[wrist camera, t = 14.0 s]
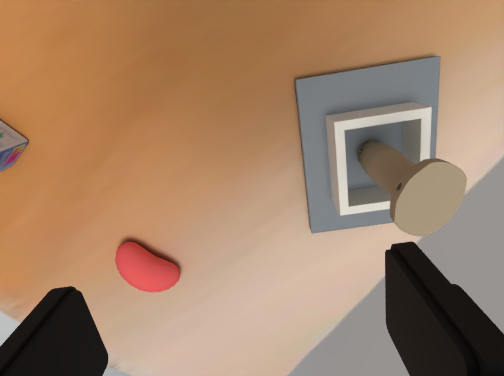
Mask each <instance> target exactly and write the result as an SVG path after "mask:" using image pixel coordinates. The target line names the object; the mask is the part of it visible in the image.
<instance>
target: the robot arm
mask: <svg viewBox="0 0 504 376" xmlns="http://www.w3.org/2000/svg"><path fill="white" fill-rule="evenodd" d="M385 286H386V325H387V329H388V332H389V334H390V336H391V338H392V341H393V343H394V345H395V347H396V349H397V350H398V353H399V355H400V357H401V358H402V361H403V363H404V365H405V367H406V369H407V371H408V373H409V375H410V376H504V334H503V333H502V332H501V331H500V330H499V328H498V327H497V326H496V325H495V324H494V323H493V322H492V321H491V320H490V319H489V318H488V316H487V315H486V314H485V313H484V312H483V311H482V310H481V309H480V308H479V307H478V306H477V304H476V303H475V302H474V301H473V300H472V299H471V298H470V297H469V296H468V295H467V293H466V292H465V291H464V290H463V289H462V288H461V287H459V286H458V285H456V284H451V283H450V282H449V281H448V280H447V279H446V278H445V277H444V275H443V274H442V273H441V272H440V271H439V270H438V269H437V267H436V266H435V265H434V264H433V263H432V262H431V261H430V260H429V259H428V257H427V256H426V255H425V254H424V253H423V252H422V250H421V249H420V248H419V247H418V246H417V245H416V244H415V243H414V242H405V243H397V244H392V246H391V249H390V250H386V252H385ZM107 364H108V353H107V351H106V348H105V346H104V344H103V341H102V339H101V337H100V334H99V332H98V330H97V327H96V325H95V323H94V320H93V318H92V316H91V313H90V311H89V309H88V306H87V304H86V302H85V300H84V297H83V295H82V293H81V292H80V291H78V290H76V288H74V287H72V286H70V287H62V288H55V289H52V290H50V291H49V292H48V293H47V295H46V296H45V297H44V298H43V299H42V300H41V301H40V302H39V304H38V305H37V306H36V307H35V308H34V309H33V310H32V311H31V313H30V314H29V315H28V316H27V317H26V318H25V319H24V320H23V322H22V323H21V324H20V325H19V326H18V327H17V328H16V329H15V331H14V332H13V333H12V334H11V335H10V337H8V339H7V340H6V341H5V342H4V343H3V344H2V345H1V346H0V376H102V375H103V373H104V371H105V369H106V367H107Z"/></svg>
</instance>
